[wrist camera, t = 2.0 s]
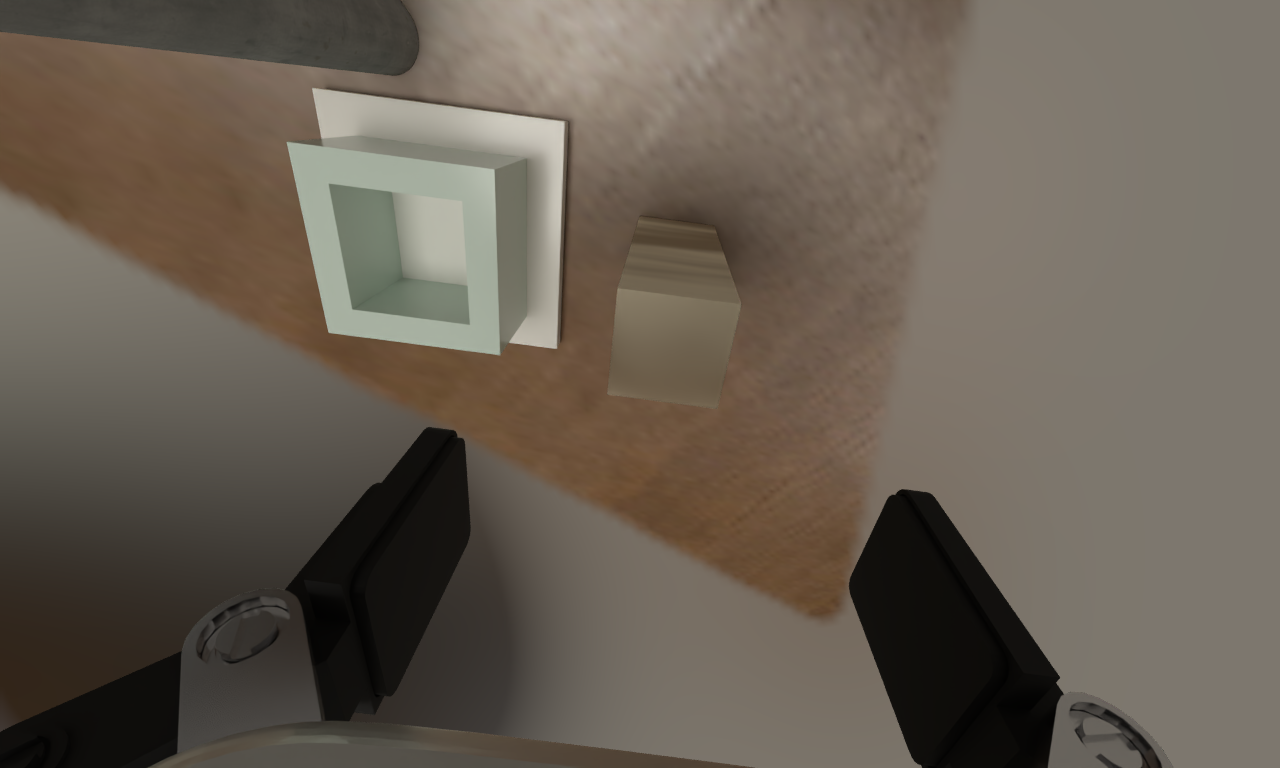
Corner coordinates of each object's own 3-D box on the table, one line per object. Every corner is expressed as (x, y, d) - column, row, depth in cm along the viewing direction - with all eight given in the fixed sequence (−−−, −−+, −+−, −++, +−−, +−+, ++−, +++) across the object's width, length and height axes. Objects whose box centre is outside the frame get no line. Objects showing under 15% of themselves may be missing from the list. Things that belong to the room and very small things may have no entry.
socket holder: (325, 88, 24) (228, 83, 19) (568, 121, 24) (539, 125, 19) (365, 316, 30) (300, 360, 25) (560, 341, 30) (536, 391, 25)
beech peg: (639, 215, 26) (617, 288, 16) (714, 225, 26) (741, 304, 16) (631, 287, 28) (607, 394, 18) (700, 296, 28) (717, 408, 18)
